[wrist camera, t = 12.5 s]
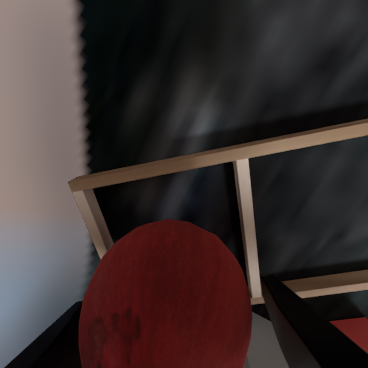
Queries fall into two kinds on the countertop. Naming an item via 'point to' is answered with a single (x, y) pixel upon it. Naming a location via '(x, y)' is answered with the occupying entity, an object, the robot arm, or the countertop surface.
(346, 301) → the countertop surface
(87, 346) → the onion
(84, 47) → the countertop surface
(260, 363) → the dome base
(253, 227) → the wooden frame with crossbars
